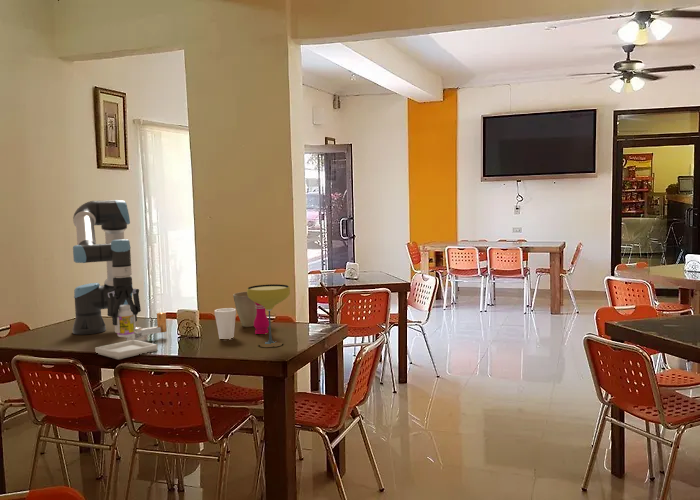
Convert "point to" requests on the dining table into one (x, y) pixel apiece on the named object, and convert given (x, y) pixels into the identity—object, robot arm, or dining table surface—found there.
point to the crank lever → (152, 330)
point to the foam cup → (225, 322)
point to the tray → (126, 349)
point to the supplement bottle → (125, 321)
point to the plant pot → (245, 309)
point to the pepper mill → (261, 320)
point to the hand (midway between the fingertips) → (125, 331)
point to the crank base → (137, 338)
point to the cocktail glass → (268, 298)
